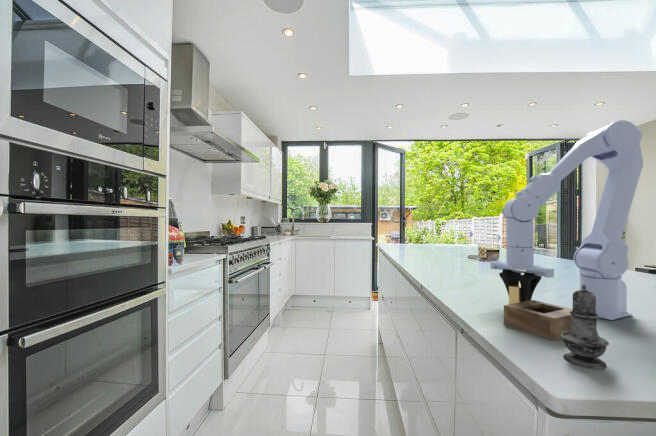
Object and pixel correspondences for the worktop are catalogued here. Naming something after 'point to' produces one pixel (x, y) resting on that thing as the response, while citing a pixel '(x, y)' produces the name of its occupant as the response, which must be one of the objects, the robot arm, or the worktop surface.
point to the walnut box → (539, 318)
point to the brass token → (515, 294)
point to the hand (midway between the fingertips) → (519, 302)
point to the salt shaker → (584, 333)
